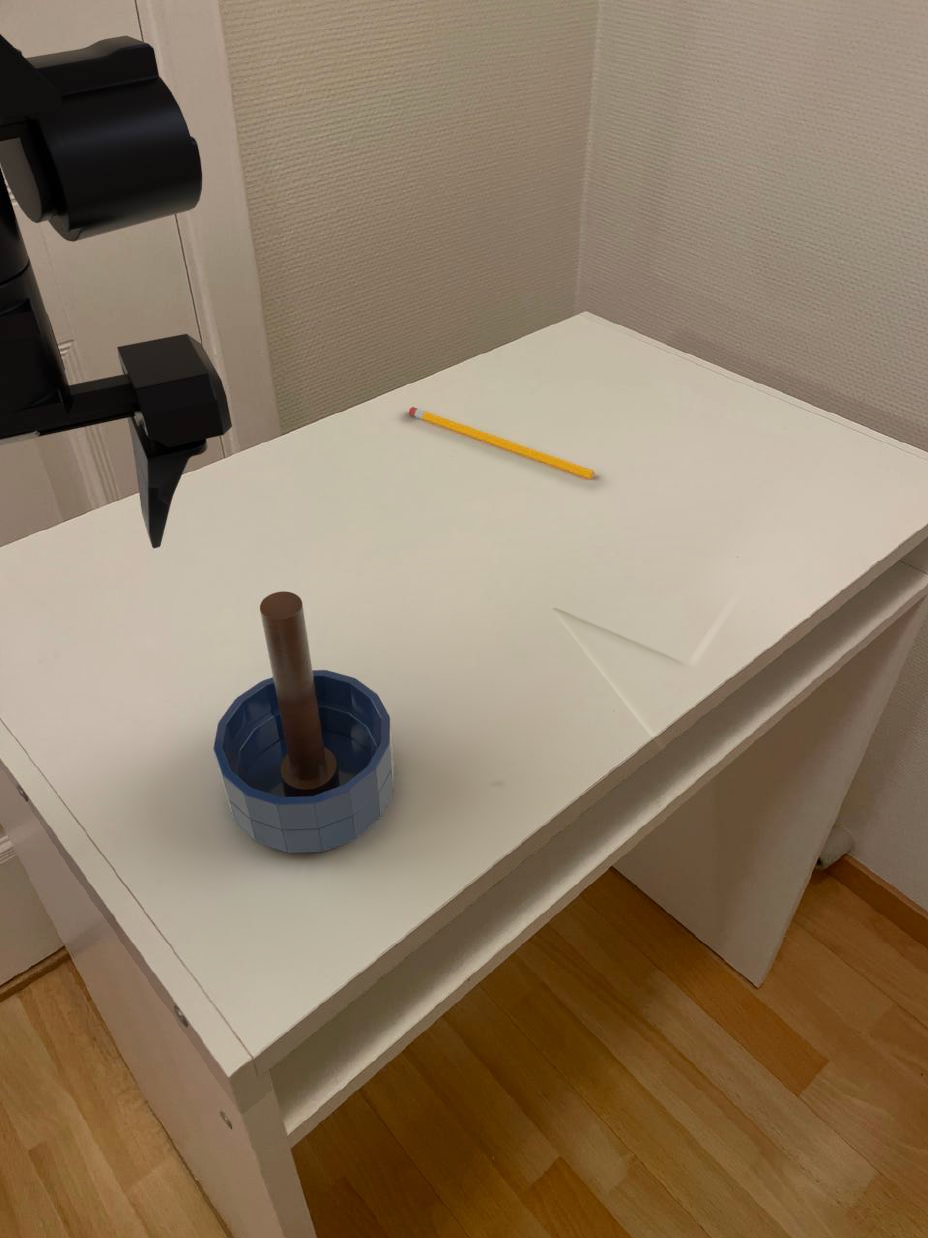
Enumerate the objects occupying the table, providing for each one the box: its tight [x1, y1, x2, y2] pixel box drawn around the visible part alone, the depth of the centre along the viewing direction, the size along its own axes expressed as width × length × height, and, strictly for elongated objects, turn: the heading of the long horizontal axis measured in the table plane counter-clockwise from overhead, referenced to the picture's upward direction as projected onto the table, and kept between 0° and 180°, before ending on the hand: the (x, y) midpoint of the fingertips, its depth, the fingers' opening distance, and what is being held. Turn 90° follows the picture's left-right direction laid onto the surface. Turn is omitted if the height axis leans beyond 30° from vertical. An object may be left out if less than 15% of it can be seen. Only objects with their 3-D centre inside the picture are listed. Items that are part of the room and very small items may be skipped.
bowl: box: [212, 669, 395, 854], centre depth 53 cm, size 9×9×5 cm
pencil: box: [408, 406, 595, 480], centre depth 81 cm, size 1×18×1 cm, turn 57°
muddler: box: [259, 591, 339, 797], centre depth 49 cm, size 3×3×14 cm
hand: (65, 566), depth 49 cm, fingers open, 9 cm apart
